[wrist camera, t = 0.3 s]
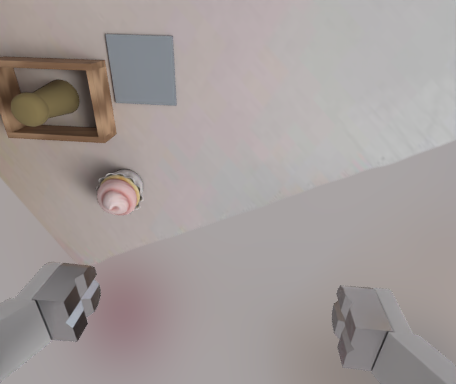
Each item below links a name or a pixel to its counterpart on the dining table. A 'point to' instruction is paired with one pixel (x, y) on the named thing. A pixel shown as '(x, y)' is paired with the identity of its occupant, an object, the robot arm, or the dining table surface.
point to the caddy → (102, 106)
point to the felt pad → (142, 68)
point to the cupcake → (120, 192)
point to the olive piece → (45, 103)
